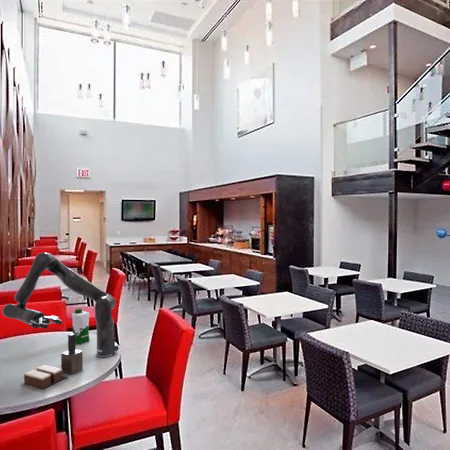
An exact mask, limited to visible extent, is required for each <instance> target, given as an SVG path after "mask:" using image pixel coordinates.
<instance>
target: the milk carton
mask: <svg viewBox="0 0 450 450" xmlns="http://www.w3.org/2000/svg"><path fill="white" fill-rule="evenodd" d="M71 319H72V334H75V344H76V345H82V344H85V343H88V342H90V331H89V330H90V329H89V328H90V324H89V323H90V322H89V320H90V312H89V311H84V310H83V308H75V309H74V312H73V313H71Z"/></svg>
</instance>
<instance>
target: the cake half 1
mask: <svg viewBox="0 0 450 450" xmlns="http://www.w3.org/2000/svg"><path fill="white" fill-rule="evenodd" d="M23 380H24V381H23V383H24V384H27V385H30V386H29V387H31V386H34V387H37V388H41V389H43V388H45V387H47V386H49V385H51V374H48V373H44V372H40V371H37V369H31V370H29V371H26V372H24V373H23ZM24 384H23V385H24ZM27 385H26V386H27ZM34 387H33V388H34ZM37 388H36V389H37ZM41 389H40V390H41Z"/></svg>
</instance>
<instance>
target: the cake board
mask: <svg viewBox="0 0 450 450" xmlns="http://www.w3.org/2000/svg"><path fill="white" fill-rule="evenodd" d="M67 379H69V377H68V376H64V375H62V379H61V380H59V381H57V382H55V383H53V382H51V385H49V386H47V387H45V388H43V389H41V388H37V387H34V386H30V385H27V384H24V382H22V383H21V385H24V386H27V387H31V388H34V389H38V390H40V391H45V390H48V389H49V388H51V387H53V386H55V385H58V384H59V383H61V382H63V381H65V380H67Z"/></svg>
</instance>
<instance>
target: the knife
mask: <svg viewBox="0 0 450 450" xmlns="http://www.w3.org/2000/svg"><path fill="white" fill-rule="evenodd" d="M67 347H68V348H67V351H68V352H70V353H75V349H76V343H75V334H73V333H69V334H68V335H67Z"/></svg>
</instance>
